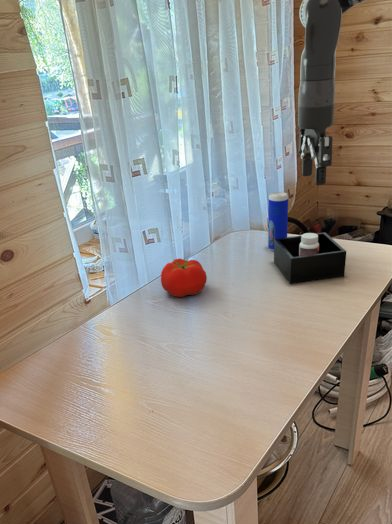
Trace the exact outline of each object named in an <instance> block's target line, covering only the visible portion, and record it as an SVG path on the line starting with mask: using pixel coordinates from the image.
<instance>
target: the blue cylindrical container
mask: <svg viewBox="0 0 392 524" xmlns="http://www.w3.org/2000/svg"><path fill="white" fill-rule="evenodd" d="M267 215H268V217H267V218H268V220H267V223H268V224H267V227H268V228H267V229H268V231H267V235H268V236H267V237H268V239H267V243H268V244H267V247H268V249H269V250H270V251H272V252H274V239H278V238H285V237H288V227H289V223H288V222H289V218H288V217H289V194H288V193H287V192H283V191H275V192H271V193H269V196H268V214H267Z"/></svg>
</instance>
